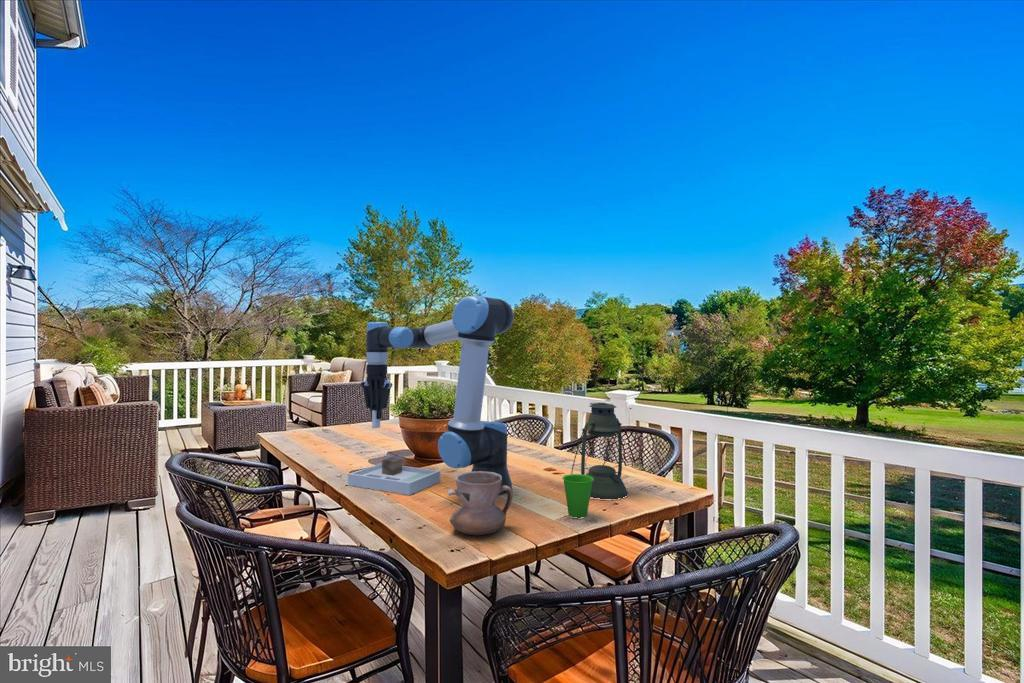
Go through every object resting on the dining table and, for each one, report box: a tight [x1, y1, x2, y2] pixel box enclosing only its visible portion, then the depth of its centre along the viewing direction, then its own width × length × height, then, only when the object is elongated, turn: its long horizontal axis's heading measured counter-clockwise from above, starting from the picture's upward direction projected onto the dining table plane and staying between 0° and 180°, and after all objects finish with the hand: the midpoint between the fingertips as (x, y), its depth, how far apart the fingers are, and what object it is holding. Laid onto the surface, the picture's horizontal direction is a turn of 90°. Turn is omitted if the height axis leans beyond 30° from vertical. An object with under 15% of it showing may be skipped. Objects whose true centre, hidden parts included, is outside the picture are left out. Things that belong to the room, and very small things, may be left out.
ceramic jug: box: [446, 471, 514, 536], centre depth 133 cm, size 18×14×14 cm
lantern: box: [570, 402, 629, 499], centre depth 168 cm, size 21×18×30 cm
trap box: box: [347, 462, 441, 496], centre depth 176 cm, size 26×18×4 cm
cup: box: [562, 473, 594, 518], centre depth 145 cm, size 9×9×11 cm
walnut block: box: [381, 456, 403, 475], centre depth 181 cm, size 5×5×5 cm
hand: (376, 427), depth 184 cm, fingers closed
